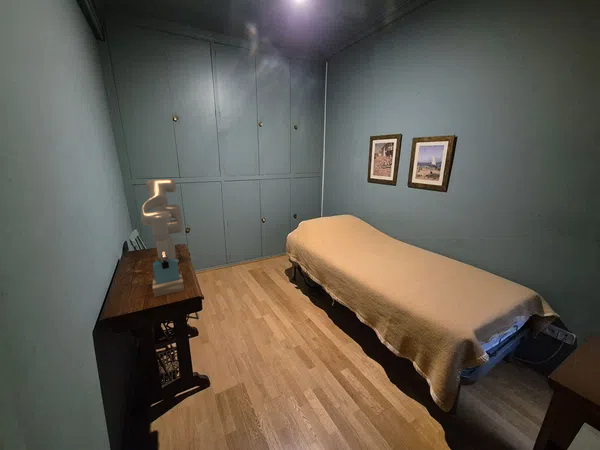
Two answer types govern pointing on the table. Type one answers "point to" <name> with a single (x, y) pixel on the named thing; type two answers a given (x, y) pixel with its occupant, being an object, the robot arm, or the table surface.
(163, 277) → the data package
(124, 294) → the table surface
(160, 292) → the birch riser block
